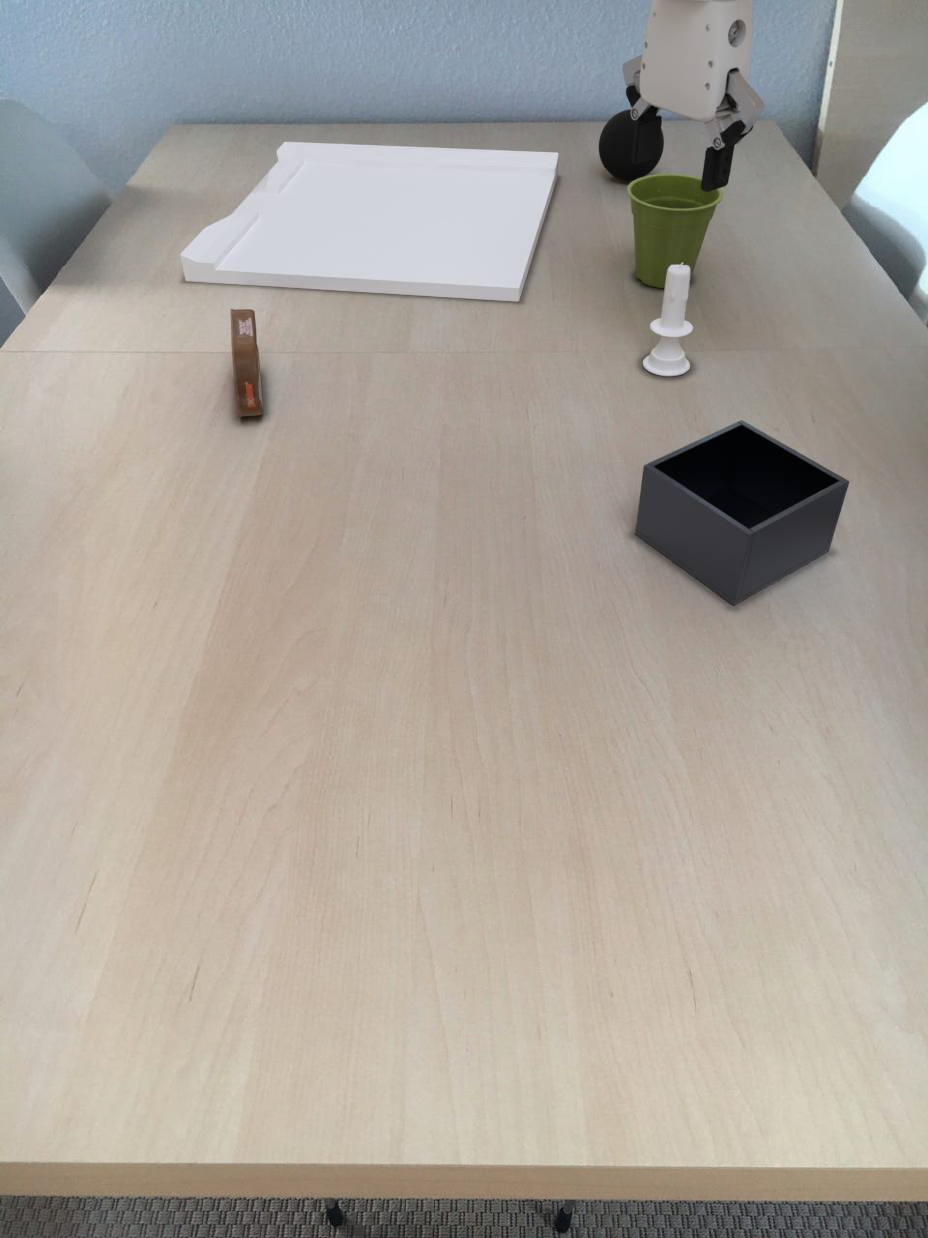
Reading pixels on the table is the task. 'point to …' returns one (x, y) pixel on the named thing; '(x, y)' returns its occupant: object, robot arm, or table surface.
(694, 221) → the plant pot
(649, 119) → the robot arm
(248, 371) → the brown thin box
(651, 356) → the candle
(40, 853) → the table surface
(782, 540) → the bin
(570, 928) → the table surface
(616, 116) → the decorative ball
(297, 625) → the table surface
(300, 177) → the tray
